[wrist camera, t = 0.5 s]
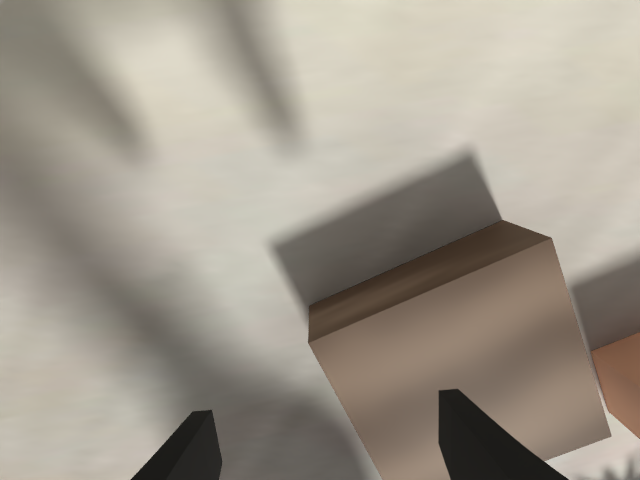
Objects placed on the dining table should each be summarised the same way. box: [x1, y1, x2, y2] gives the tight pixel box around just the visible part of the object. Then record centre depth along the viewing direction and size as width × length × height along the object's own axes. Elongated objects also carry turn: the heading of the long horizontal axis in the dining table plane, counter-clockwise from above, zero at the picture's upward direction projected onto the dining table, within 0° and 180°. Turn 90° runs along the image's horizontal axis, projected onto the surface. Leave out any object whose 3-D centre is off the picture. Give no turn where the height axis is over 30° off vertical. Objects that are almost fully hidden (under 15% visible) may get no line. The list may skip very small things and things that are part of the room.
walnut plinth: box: [308, 220, 611, 480], centre depth 19 cm, size 12×12×4 cm
